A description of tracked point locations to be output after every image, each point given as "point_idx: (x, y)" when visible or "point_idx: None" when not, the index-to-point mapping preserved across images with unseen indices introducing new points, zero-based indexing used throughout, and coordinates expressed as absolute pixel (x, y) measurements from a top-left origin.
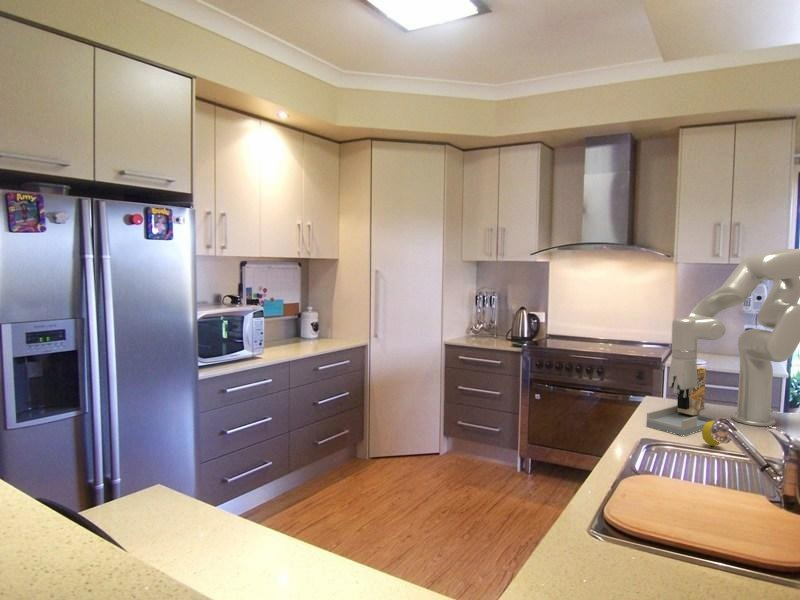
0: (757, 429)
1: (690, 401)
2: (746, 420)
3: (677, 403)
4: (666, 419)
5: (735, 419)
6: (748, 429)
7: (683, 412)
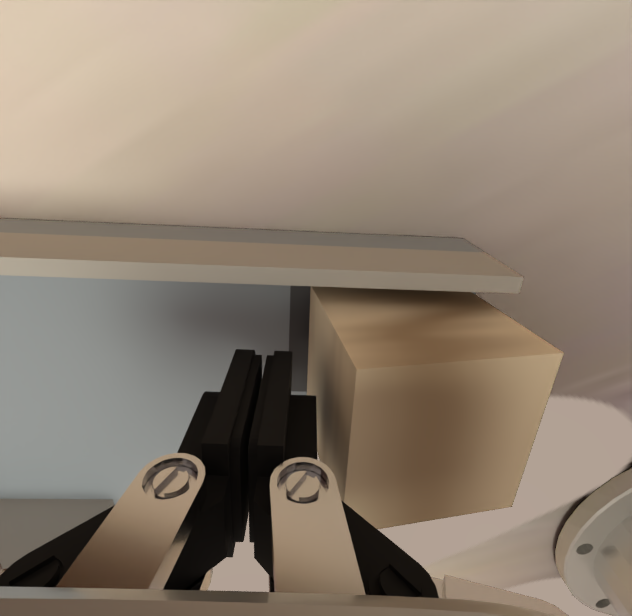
0: (494, 585)
1: None
2: (589, 549)
3: (229, 372)
4: (34, 315)
5: (599, 497)
6: (458, 568)
7: (308, 348)
